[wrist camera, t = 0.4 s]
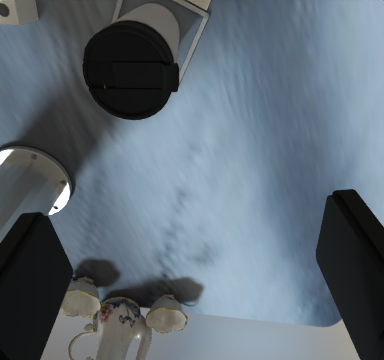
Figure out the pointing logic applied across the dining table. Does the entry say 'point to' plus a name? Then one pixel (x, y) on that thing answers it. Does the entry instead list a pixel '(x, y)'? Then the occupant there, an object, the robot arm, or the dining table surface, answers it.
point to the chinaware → (120, 319)
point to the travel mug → (134, 62)
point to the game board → (199, 0)
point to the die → (18, 12)
